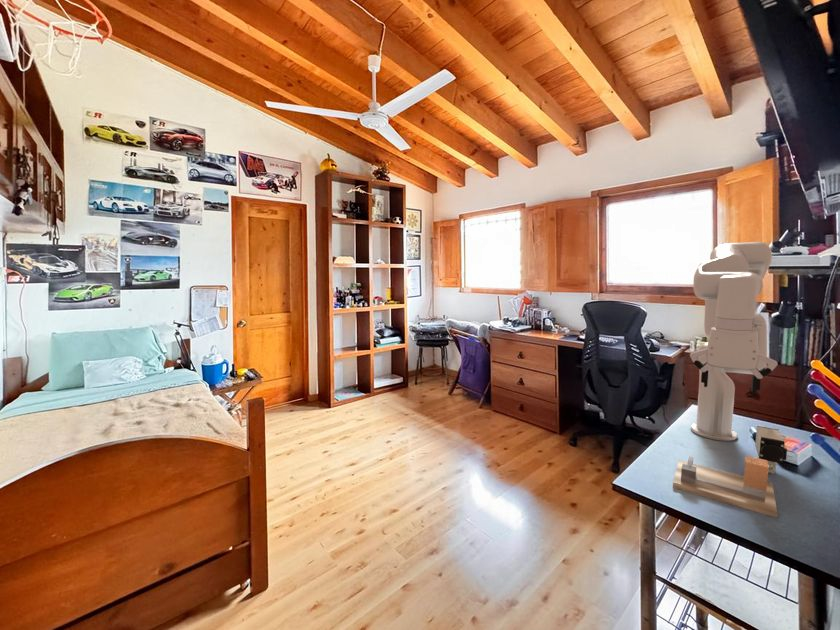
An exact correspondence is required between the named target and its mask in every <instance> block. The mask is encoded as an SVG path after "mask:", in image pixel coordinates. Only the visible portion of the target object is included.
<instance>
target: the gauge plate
mask: <svg viewBox="0 0 840 630" xmlns="http://www.w3.org/2000/svg"><path fill="white" fill-rule="evenodd" d="M743 480H744V475H740V474H736V473H731V472H728V471H723V470H721V469H720V470H719V469H716V468H712V467H707V466H703V465H700V464H695V463H694V457H693V456H690V455H689V456H688V460H687V461H685V460H680V459H679V460H678V463H677V467H676V470H675V473H674V478H673V482H672V488H673V489H677V490H679V491H683V492H687V493H690V494H693V495H696V496H697V495H698V496H701V497H704V498H708V499H710V500H715V501H718V502H722V503H726V504H728V505H730V506H731V505H732V506H735V507H738V508H742V509H745V510H748V511H752V512H756V513H759V514H762V515H766V516H769V517H772V518H777V517H778V509H777V503H776V497H775V491H774V484H773V483H771V482H768V481H767V489H766V498H762V497H758V496H755V495H751V494H747V493H744V492H743Z"/></svg>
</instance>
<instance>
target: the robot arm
mask: <svg viewBox="0 0 840 630" xmlns="http://www.w3.org/2000/svg"><path fill="white" fill-rule="evenodd" d="M772 254H773V253H772V249H771V247H770V246H769V244H767V243H765V242H763V241H750V242H748V241H747V242H729V243H724V244H719V245H718V246H716V247H715V248H714V249H712V251H711V252H710V256H709V259H707V260H705V261H702V262H701V263H700V264H699V265H698V267H697V268H696V270H695V272H694V276H693V286H692V287H693V292H694V295H695V297H696V298H698V299H699V300H704V324H703V325H704V327H703V329H704V333H705V335H706V337H708V340H707V342H705V343H702V344H701V345H699V346H698V350H696V351H693V352H690V353H689V357H690V359H691V361H692V362H693V365H694V366H695V367H696V368H698V370H699V374H698V375H699V376H698V377H699V378H698V380H699V381H698V396H697V410H696V411H697V413H696V422H693V423H692V424H691V425H690V430H691V431H692V432H693V433H695V434H696V435H698V436H700V437H703V438H707V439H709V440H710V439H711V440H716V441H720V442H721V441H722V442H723V441H724V442H726V441H727V442H730V441H734V440H736V439H737V438H738V433H737V432H736V431H735V430H734V429H733V420H734V419H733V418H734V405H735V394H736V393H735V391H736V386H735V383H734V381H733V379H731V378H730V376H728V374H727V373H734V374H735V373H736V374H743V375H744V374H746V375H752V378H751V379H752V380H751V389H750V390H751V393H752V394H753V395H756V394H757V391H760V390H761V380H762V379H763V378H765V376H767V375H770V374H771V373H772V372H773V371H774V369H776V368H777V366H778V365H779V364H778V362H777V360H775V359H772V358H770V357H769V356H768V329H767V321H766V319H765V317H764V316H763V315H762V314H760V313H757V312H756V308H757V307H756V306H757V298H758V297H759V295H761V294H762V292H763V288H764V284H763V283H764V281H763V280H764V279H765V277H766V275H767V273H768V270H769V268H770V266H771V264H772V259H773V255H772Z"/></svg>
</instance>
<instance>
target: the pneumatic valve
mask: <svg viewBox="0 0 840 630" xmlns="http://www.w3.org/2000/svg"><path fill="white" fill-rule="evenodd" d="M787 439H788V438H787V437H786V435H783V434H782V433H781V431H780V430H779V429H778V428H777V429H776V428H771V427H766V426H760V425H757V426H756V433H755V443H754V444H755V445H754V446H755V450H756V453H757V458H759V459H763V460H767V461H768V467H769V468H768V473H771V474H772V475H776V474H777V472H776V470H777V468H776V466H778V464H783V461H787V454H788V453H787V452H788V449H787V446H786V444H785V442H786V441H788V440H787Z"/></svg>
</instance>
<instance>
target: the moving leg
mask: <svg viewBox="0 0 840 630" xmlns="http://www.w3.org/2000/svg"><path fill="white" fill-rule="evenodd" d="M768 468H769V467H768V461H767V460H763V459H759V457H753V456H750V455H745V458H744V468H743V469H744V470H743V476H744V480H743V492H744V493H747V494H751V495H755V496H758V497H762V498H766V489H767V482H768V476H769V472H768Z"/></svg>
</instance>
